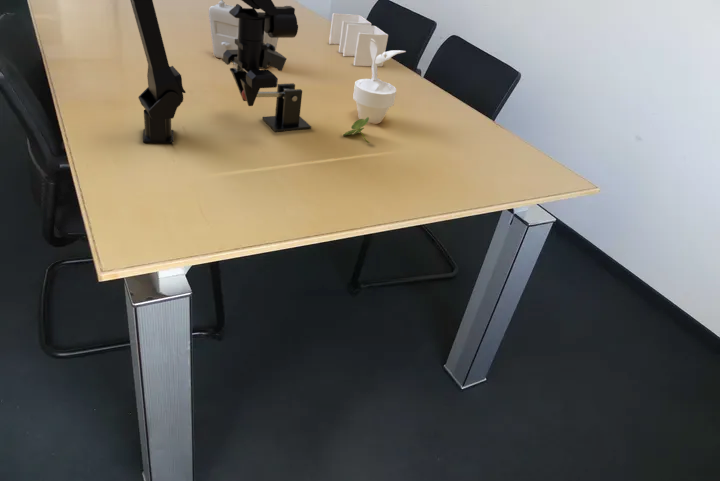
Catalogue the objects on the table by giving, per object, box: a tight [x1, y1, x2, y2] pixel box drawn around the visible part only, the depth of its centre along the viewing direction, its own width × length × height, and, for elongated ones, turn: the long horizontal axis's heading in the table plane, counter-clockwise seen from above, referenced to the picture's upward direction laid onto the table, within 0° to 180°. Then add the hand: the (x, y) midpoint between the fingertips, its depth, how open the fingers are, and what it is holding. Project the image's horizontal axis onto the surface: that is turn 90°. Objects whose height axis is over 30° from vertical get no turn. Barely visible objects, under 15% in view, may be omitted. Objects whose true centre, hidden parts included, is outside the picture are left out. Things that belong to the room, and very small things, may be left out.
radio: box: [208, 0, 279, 70], centre depth 174 cm, size 22×8×25 cm, turn 76°
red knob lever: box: [241, 88, 296, 102], centre depth 137 cm, size 14×3×3 cm, turn 122°
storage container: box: [328, 12, 389, 67], centre depth 205 cm, size 25×11×11 cm, turn 24°
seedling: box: [343, 117, 370, 144], centre depth 144 cm, size 7×8×7 cm
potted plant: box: [352, 35, 407, 125], centre depth 151 cm, size 13×12×25 cm
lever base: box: [261, 82, 312, 133], centre depth 142 cm, size 10×8×10 cm
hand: (247, 103), depth 136 cm, fingers closed on red knob lever, 3 cm apart
